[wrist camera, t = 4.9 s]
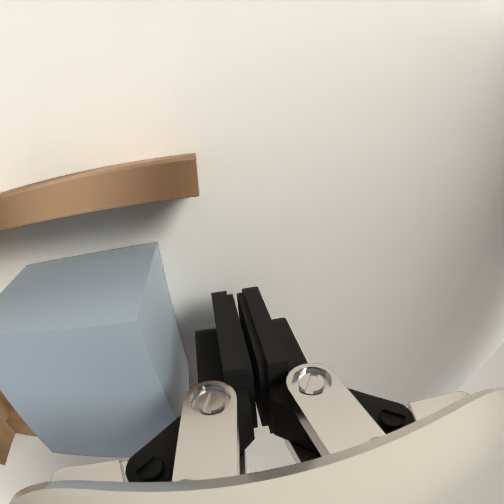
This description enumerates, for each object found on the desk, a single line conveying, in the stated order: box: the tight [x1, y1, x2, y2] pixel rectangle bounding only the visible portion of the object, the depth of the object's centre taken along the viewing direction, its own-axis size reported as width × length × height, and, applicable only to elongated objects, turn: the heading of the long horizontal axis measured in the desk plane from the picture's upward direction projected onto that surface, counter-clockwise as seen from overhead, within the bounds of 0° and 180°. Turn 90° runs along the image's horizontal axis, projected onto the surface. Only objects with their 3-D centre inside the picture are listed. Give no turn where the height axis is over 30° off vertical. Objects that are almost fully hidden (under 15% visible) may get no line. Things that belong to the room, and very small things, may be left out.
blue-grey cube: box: [0, 242, 189, 457], centre depth 9 cm, size 6×6×5 cm
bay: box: [0, 153, 199, 465], centre depth 9 cm, size 14×12×5 cm
